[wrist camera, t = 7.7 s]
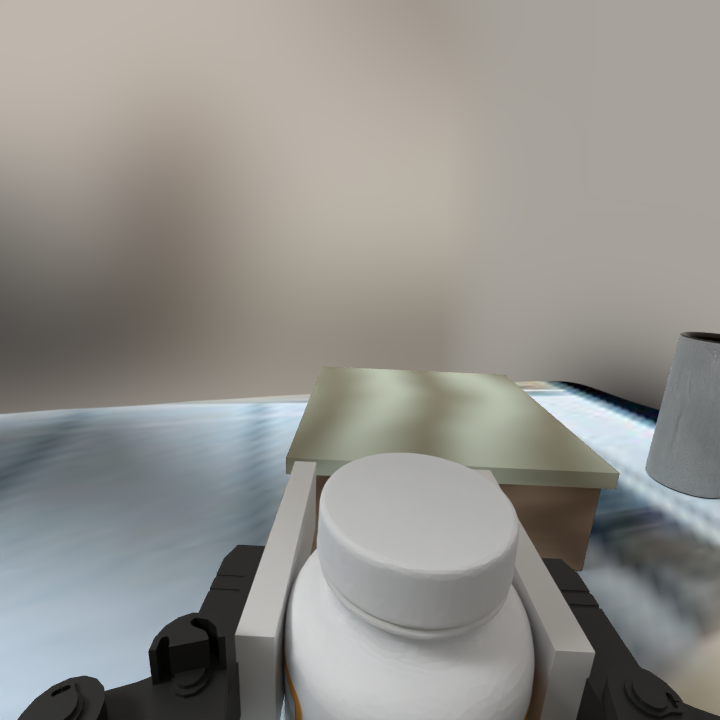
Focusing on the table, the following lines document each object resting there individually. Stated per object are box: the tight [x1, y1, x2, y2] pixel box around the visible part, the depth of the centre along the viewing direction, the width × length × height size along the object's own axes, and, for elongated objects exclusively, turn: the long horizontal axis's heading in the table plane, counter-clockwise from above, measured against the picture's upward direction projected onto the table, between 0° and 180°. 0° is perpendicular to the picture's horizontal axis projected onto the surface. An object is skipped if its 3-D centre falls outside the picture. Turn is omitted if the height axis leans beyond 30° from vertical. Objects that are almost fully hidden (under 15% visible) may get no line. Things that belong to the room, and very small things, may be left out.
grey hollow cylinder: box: [646, 332, 720, 498], centre depth 26 cm, size 4×4×10 cm
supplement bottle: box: [284, 453, 535, 720], centre depth 9 cm, size 5×5×10 cm
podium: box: [286, 367, 620, 570], centre depth 25 cm, size 15×15×6 cm
